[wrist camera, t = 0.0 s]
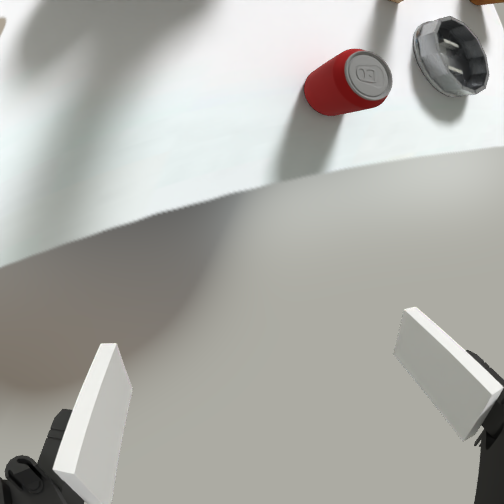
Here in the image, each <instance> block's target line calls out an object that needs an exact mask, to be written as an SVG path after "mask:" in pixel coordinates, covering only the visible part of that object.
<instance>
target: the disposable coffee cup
mask: <svg viewBox="0 0 504 504" xmlns="http://www.w3.org/2000/svg"><path fill="white" fill-rule="evenodd" d="M470 1H471V2H472V3H473V4H475V5H485V4H493V3H502V2H504V0H470Z"/></svg>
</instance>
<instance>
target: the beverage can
mask: <svg viewBox="0 0 504 504" xmlns="http://www.w3.org/2000/svg"><path fill="white" fill-rule="evenodd" d="M391 88H392V74H391V71H390V69H389V67H388V65H387V64H386V62H385V61H384V60H383V59H382V58H381V57H380V56H378V55H377V54H375V53H373V52H370V51H365V50H361V49H349V50H346V51H344V52H342V53H340V54H339V55H337V56H335V57H334V58H332V59H331V60H329V61H328V62H326V63H325V64H323V65H322V66H320V67H319V68H317V69H316V70H315V71H313V72H312V73H311V74H310V75H309V76H308V77H307V79H306V81H305V85H304V93H305V97H306V99H307V101H308V103H309V104H310V106H311V107H312V108H313V109H314V110H316V111H317V112H319V113H321V114H323V115H327V116H335V115H340V114H346V113H351V112H355V111H360V110H365V109H369V108H374V107H377V106H379V105H380V104H381V103H382V102H383V101H384V100H385V99H386V97H387V95H388V94H389V92H390V90H391Z"/></svg>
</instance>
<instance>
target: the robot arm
mask: <svg viewBox="0 0 504 504" xmlns="http://www.w3.org/2000/svg"><path fill="white" fill-rule="evenodd" d="M393 355H394V356H395V357H396V358H397V359H398V361H399V362H400V363H401V364H402V365H403V367H404V368H405V369H406V370H407V372H408V373H409V374H410V375H411V376H412V378H413V379H414V380H415V381H416V383H417V384H418V385H419V386H420V387H421V389H422V390H423V391H424V393H425V394H426V395H427V396H428V398H429V399H430V400H431V401H432V403H433V404H434V405H435V406H436V408H437V409H438V410H439V411H440V413H441V414H442V415H443V417H444V418H445V419H446V420H447V422H448V423H449V424H450V426H451V427H452V428H453V429H454V431H455V432H456V433H457V435H458V436H459V437H460V439H461V440H462V441H465V440H467V439H468V438H470V437H472V436H473V435H475V433H476V432H477V431H478V429H479V428H480V426H481V425H482V426H483V427H484V430H483V431H482V433H481V434H480V436H479V437H478V439H477V440H476V441H475V444H474V446H476V445H477V444H478V443H479V441H480V440H481V444H480V445H479V447H481V453H480V466H479V475H478V482H477V489H476V496H475V502H474V504H504V380H503V379H502V378H501V377H500V376H499V375H498V374H497V373H496V372H495V371H494V370H493V369H492V368H489V366H488V364H486V363H484V361H483V360H482V359H481V358H480V357H479V356H478V355H477V354H475V353H473V352H471V351H469V350H466V351H465V350H464V349H463V348H462V347H461V346H460V345H459V344H458V343H456V342H455V341H454V340H453V339H452V338H451V337H450V336H449V335H447V334H446V333H445V332H444V331H443V330H442V329H441V328H440V327H438V326H437V325H436V324H435V323H434V322H433V321H432V320H431V319H429V318H428V317H427V316H426V315H425V314H424V313H422V312H421V311H420V310H419V309H418V308H417V307H412V308H407V309H404V311H403V315H402V320H401V324H400V329H399V333H398V338H397V342H396V345H395V349H394V353H393ZM132 390H133V388H132V386H131V383H130V380H129V378H128V375H127V372H126V370H125V367H124V364H123V361H122V358H121V355H120V352H119V349H118V346H117V343H101V345H100V346H99V349H98V351H97V353H96V355H95V358H94V360H93V362H92V364H91V367H90V369H89V371H88V374H87V376H86V379H85V381H84V383H83V386H82V388H81V391H80V393H79V396H78V398H77V401H76V403H75V406H74V408H73V410H68V409H62V410H61V411H60V412H59V414H58V415H57V416H56V417H55V418H54V421H53V423H52V426H51V430H50V431H49V433H48V436H47V437H48V438H47V439H46V441H45V444H44V446H43V449H42V452H41V455H40V457H39V460H38V463H36V462H35V461H34V460H33V459H32V458H30V457H28V456H23V455H21V456H16V457H15V458H13V459H11V460H10V461H9V463H8V464H7V466H6V469H5V476H6V478H7V479H8V480H3V479H2V478H1V477H0V504H84V501H85V502H86V503H87V504H112V497H113V490H114V484H115V477H116V471H117V464H118V459H119V454H120V447H121V442H122V437H123V432H124V427H125V422H126V418H127V413H128V408H129V404H130V399H131V395H132Z"/></svg>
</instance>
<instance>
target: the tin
mask: <svg viewBox="0 0 504 504" xmlns="http://www.w3.org/2000/svg"><path fill="white" fill-rule="evenodd" d="M413 48H414V53H415V57H416V60H417V62H418V65H419V67H420V69H421V71H422V72H423V74H424V76H425V77H426V79H427V80H428V81H429V82H430V84H431V85H432V86H433V87H434V88H435V89H437V90H438V91H439V92H441V93H442V94H444V95H446V96H450V97H459V96H462V95H474V94H477V93H479V92H481V91H482V90H484V89H486V85H487V81H488V77H489V70H488V63H487V57H486V54H485V52H484V50H483V48H482V46H481V44H480V42H479V40H478V38H477V37H476V35H475V34H474V33H473V32H472V31H471V30H470V29H469V28H468V27H467V25H466V24H465V23H463V22H461V21H459V20H457V19H455V18H453V17H451V16H448V17H444V18H440V19H437V20H434V21H429V22H425V23H423V24H421V25H420V26H418V28H417V29H416V31H415V33H414V37H413Z"/></svg>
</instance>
